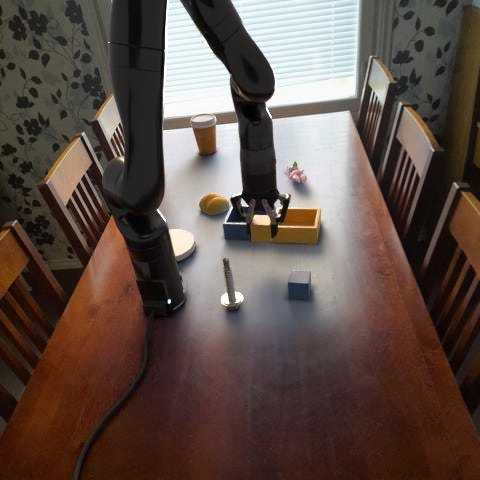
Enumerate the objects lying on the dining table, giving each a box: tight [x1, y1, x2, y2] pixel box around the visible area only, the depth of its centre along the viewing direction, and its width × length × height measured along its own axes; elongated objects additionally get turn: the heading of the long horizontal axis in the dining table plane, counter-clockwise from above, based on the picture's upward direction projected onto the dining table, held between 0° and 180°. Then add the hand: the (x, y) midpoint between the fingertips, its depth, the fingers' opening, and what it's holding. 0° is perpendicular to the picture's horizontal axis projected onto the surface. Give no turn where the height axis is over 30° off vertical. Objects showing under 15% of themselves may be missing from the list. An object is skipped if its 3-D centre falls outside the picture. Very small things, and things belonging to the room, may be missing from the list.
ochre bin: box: [271, 206, 322, 244], centre depth 118 cm, size 10×12×4 cm
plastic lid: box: [169, 228, 197, 262], centre depth 119 cm, size 14×14×2 cm
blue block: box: [287, 269, 312, 301], centre depth 100 cm, size 4×4×4 cm
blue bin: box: [222, 204, 267, 240], centre depth 122 cm, size 10×12×4 cm
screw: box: [220, 257, 244, 311], centre depth 96 cm, size 13×5×5 cm
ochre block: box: [250, 215, 272, 243], centre depth 105 cm, size 4×4×4 cm
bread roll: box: [198, 192, 230, 216], centre depth 133 cm, size 8×9×4 cm
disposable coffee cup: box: [189, 112, 218, 156], centre depth 163 cm, size 10×10×12 cm
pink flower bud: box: [284, 160, 308, 184], centre depth 140 cm, size 6×6×15 cm
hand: (262, 235), depth 107 cm, fingers closed on ochre block, 4 cm apart
